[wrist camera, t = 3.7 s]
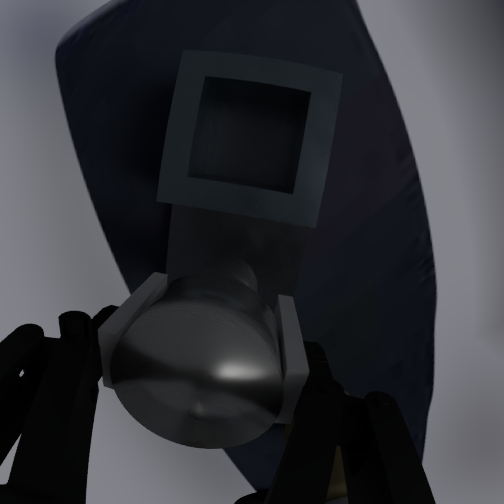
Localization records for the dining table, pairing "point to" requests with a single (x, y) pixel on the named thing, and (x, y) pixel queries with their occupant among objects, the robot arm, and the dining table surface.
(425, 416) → the dining table surface
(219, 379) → the dark grey round knob
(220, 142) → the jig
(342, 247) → the dining table surface
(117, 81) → the dining table surface
